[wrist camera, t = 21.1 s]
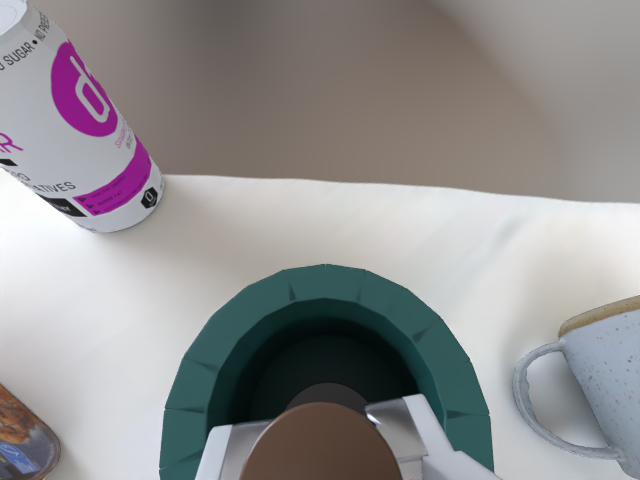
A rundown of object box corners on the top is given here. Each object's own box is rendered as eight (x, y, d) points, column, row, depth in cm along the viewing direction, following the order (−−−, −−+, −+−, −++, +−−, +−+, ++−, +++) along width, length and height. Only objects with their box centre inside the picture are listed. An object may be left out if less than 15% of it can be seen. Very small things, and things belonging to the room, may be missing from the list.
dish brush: (276, 481, 17) (24, 760, 3) (296, 381, 19) (203, 285, 5) (369, 502, 16) (573, 965, 3) (378, 396, 19) (507, 334, 5)
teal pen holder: (220, 502, 18) (94, 595, 9) (267, 318, 23) (222, 248, 14) (411, 548, 17) (514, 717, 7) (417, 343, 22) (481, 285, 13)
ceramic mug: (623, 312, 23) (744, 267, 16) (716, 447, 19) (930, 463, 12) (481, 343, 22) (543, 311, 15) (545, 489, 18) (666, 531, 11)
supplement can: (172, 160, 31) (57, -23, 18) (162, 231, 27) (6, 60, 14) (89, 170, 31) (-87, -8, 18) (66, 243, 27) (-180, 80, 14)
